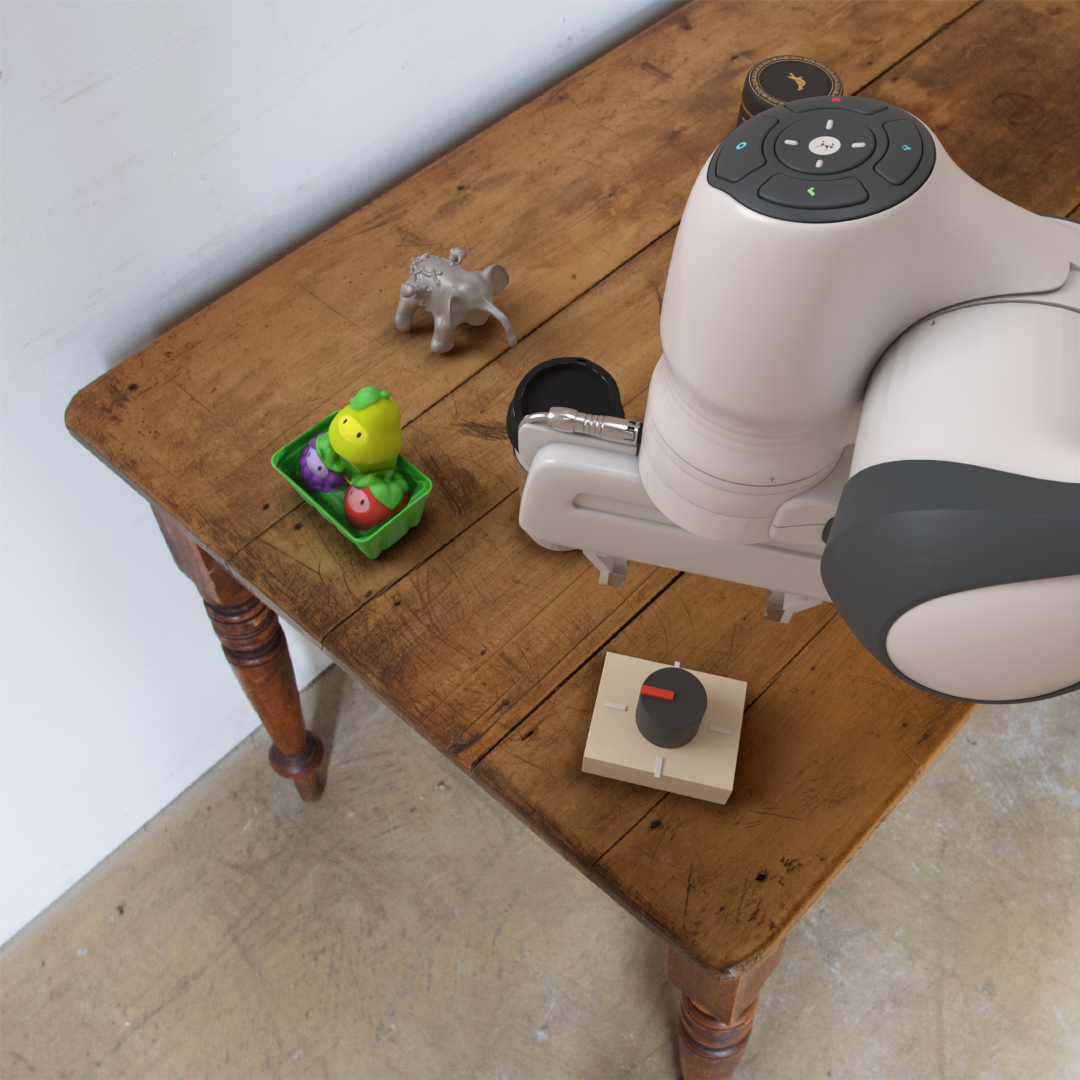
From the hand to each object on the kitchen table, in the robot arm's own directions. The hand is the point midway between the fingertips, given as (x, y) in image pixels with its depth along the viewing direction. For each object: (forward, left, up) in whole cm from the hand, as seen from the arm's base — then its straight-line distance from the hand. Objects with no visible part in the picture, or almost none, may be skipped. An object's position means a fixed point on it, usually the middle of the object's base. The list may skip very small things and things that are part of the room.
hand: (694, 593), depth 57 cm
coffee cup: (+11, -14, -17) cm, 24 cm away
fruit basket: (+26, -12, -17) cm, 33 cm away
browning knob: (0, +2, -14) cm, 14 cm away
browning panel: (0, +2, -17) cm, 17 cm away
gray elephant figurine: (+24, -32, -17) cm, 43 cm away
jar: (-1, -66, -17) cm, 68 cm away
